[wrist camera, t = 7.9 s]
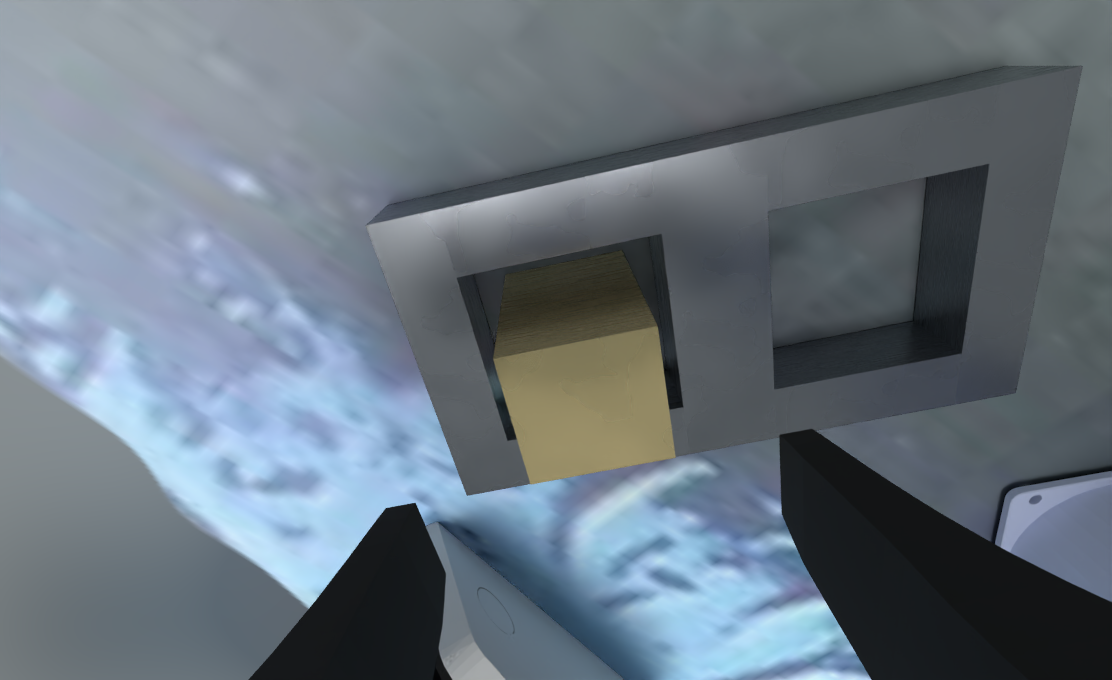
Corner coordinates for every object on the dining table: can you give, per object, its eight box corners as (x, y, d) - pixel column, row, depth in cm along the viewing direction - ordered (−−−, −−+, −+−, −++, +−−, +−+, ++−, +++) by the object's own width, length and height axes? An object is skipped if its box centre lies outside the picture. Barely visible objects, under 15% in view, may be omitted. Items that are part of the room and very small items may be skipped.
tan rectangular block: (638, 352, 20) (675, 457, 15) (532, 374, 20) (530, 484, 15) (622, 250, 18) (657, 326, 13) (505, 274, 18) (492, 359, 13)
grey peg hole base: (1005, 66, 16) (1082, 65, 14) (962, 357, 20) (1015, 393, 18) (387, 205, 17) (365, 225, 15) (474, 451, 22) (467, 495, 19)
